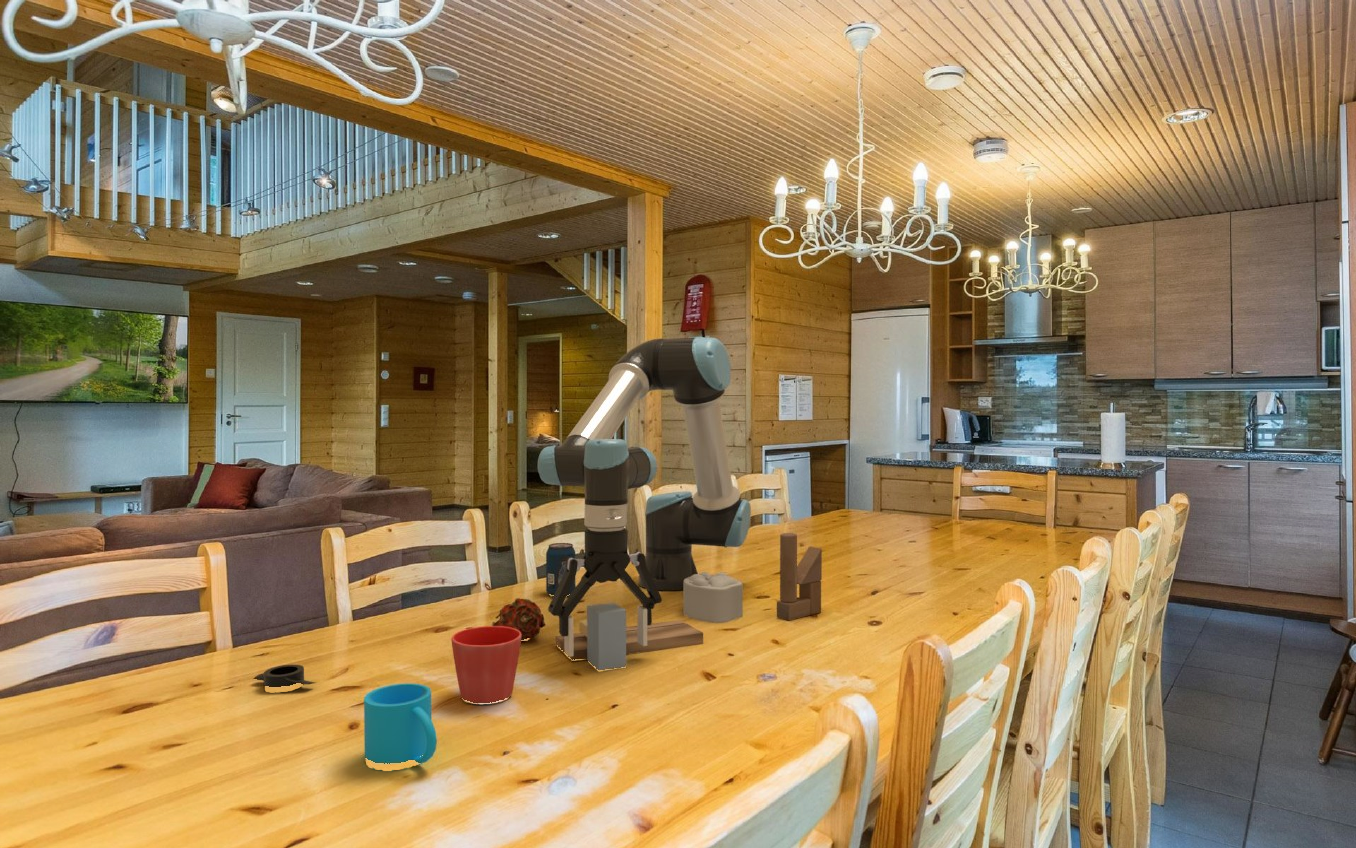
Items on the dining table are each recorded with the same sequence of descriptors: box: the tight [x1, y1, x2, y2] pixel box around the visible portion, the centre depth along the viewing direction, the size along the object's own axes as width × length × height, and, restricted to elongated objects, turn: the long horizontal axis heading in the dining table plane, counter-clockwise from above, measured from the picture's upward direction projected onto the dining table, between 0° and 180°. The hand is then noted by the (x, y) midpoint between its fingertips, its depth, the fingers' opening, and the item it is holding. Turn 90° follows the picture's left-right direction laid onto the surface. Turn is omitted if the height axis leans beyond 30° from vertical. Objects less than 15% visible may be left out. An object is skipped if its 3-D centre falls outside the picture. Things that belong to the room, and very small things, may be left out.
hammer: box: [578, 602, 627, 670], centre depth 142 cm, size 15×5×10 cm, turn 26°
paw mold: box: [682, 571, 744, 624], centre depth 171 cm, size 10×13×9 cm
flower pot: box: [451, 625, 522, 703], centre depth 123 cm, size 11×11×10 cm
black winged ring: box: [253, 664, 317, 687], centre depth 127 cm, size 8×10×3 cm
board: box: [555, 619, 704, 660], centre depth 149 cm, size 10×26×2 cm, turn 116°
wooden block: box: [776, 532, 823, 621], centre depth 170 cm, size 4×11×18 cm, turn 130°
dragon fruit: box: [491, 597, 546, 640], centre depth 153 cm, size 8×8×12 cm
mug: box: [363, 682, 438, 764], centre depth 100 cm, size 12×8×8 cm
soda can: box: [545, 542, 576, 595], centre depth 189 cm, size 7×7×12 cm
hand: (606, 649), depth 138 cm, fingers open, 13 cm apart
